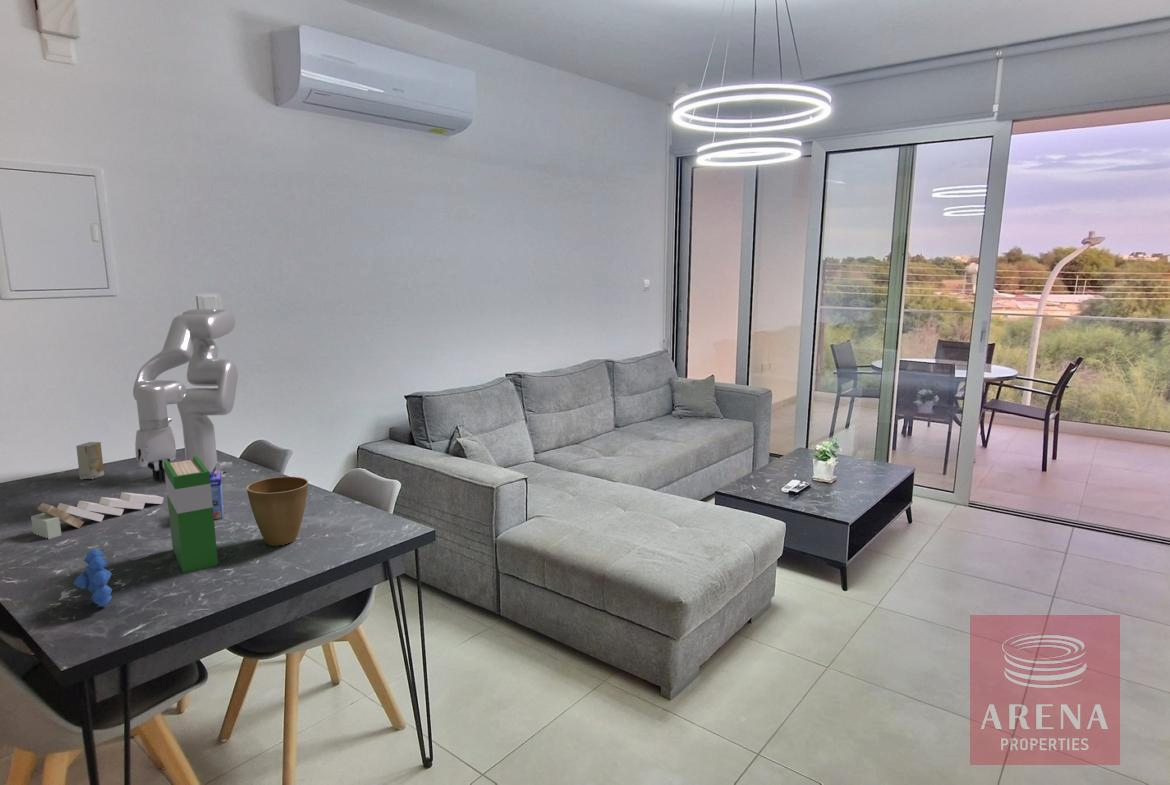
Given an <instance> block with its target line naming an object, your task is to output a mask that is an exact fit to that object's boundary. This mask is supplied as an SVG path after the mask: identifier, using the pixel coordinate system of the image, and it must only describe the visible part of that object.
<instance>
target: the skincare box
mask: <svg viewBox="0 0 1170 785" xmlns="http://www.w3.org/2000/svg"><path fill="white" fill-rule="evenodd" d="M75 447H76V454H77V455H76V456H77V466H78V473H79V480H83V479H92V480H94V478H95V479H97V478H100V477H102V476H104V475H105V470H104V461H103V460H104V459H103V454H102V453H103V452H102V443H101V441H88V442H85V443H81V444H78V445H76V446H75Z"/></svg>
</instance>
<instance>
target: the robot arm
mask: <svg viewBox="0 0 1170 785" xmlns="http://www.w3.org/2000/svg"><path fill="white" fill-rule="evenodd" d="M235 325H236V319H235V315H234V314H233V313H232V312H231V311H230V310H228V309H207V308H206V309H205V308H204V309H203V308H202V309H188V310H186V311H184V312H182V314H180V315H179V314H178V315H177V316H175V317H174V318H173V319H172V321H171V324H170V327H169V329H168V332H167V334H166V339H165V341H164V344H163V348H162V349H161V351H160V352H158V353H157V354H155V355H154V356H152V357H151V358H150V359H149V360H148V361H146V362H145V363H144V364H143V365H142V366H141V368H140V369H139V371H138V372H137V376H136V378H135V381H134V384H133V388H132V389H133V390H132V396H133V398H134V400H135V401H136V408H137V417H138V426H139V429H138V430H136V434H135V446H134V447H135V459H136V461H138V466H139V467H141V468H149V469H150V470H152V472H151V473H152V479H153V481H154V482H156V483H158V484H159V483H163V482H164V483H165V482H166V479H165V470H164V461H165V460H168V461H169V463H171V462H172V461H174V460H176V459H177V456H176V454H177V447H176V442H175V436H174V433H173V430H172V427H171V425H170V423H172V420H173V419H172V418H171V417H169V416H168V408H167V406H168V405H175V404H176V406H177V409H178V413H179V415H180V420H181V426H182V436H183V444H184V453H185V454H184V456H185V461H187V460H193V457H194V456H197V457H198V458H199V459H200V461H201V462H202V463H203V464H204V465H205V467H206V468H207V469H208V470H209V472H212V471H213V469H214V468H215V466H216V470H215V472H216V471H221V476H222V475H223V474H224V469H225V468H233V461H228V462H227V461H222V462H220V461H218V456H217V447H216V446H217V444H216V443H217V442H216V433H215V432H216V431H215V426H214V424H213V422H212V420H211V419H210V418H209V416H226V415H229V414H230V413H231V412H232V411H233V409H234V408H233V407H234V405H235V404H234V403H235V398H236V391H237V386H238V376H239V375H238V374H239V373H238V372H239V371H238V368H237V367H238V366H237V365H236V363H235V362H234V361H233V360H230V359H218V356H219V355H218V354H219V347H218V345H217V343H216V341H215V339H220V338H222V337H224V336H227V335H229V334H230V333H231V332H233V330H234V328H235ZM187 363H188V365H187V371H186V378H187V379H186V380H187V382H188V383H189V384H190V385H192V386H197V388H196V387H194V388H193V387H191V388H186V386H185V384H184V383H182V382H181V381H179V380H178V381H177V380H171V379H170V380H164V379H163V380H157V377H159V376H160V375H161V374H163V373H165V372H167V371H169V370H172V369H174V368H177V367H180V366H183V365H185V364H187ZM206 387H207V388H206ZM209 387H210V388H209ZM211 387H213V388H211ZM215 387H216V388H215ZM169 425H170V426H169Z"/></svg>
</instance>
